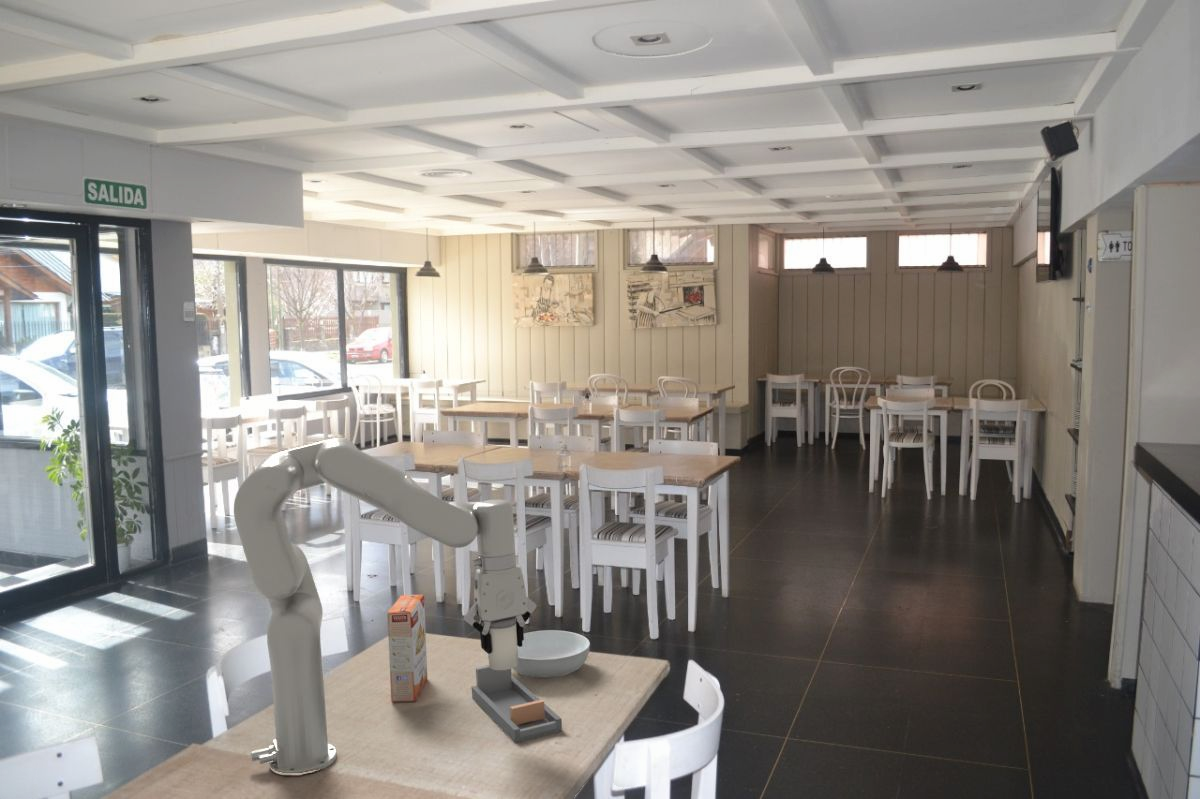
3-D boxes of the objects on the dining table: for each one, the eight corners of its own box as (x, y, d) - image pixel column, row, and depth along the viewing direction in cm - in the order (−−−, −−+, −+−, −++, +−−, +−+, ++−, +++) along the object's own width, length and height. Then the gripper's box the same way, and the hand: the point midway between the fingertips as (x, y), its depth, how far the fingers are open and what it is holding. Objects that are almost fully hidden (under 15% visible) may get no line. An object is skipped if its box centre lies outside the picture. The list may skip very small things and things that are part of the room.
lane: (514, 742, 188) (513, 709, 187) (472, 698, 211) (470, 669, 211) (562, 730, 193) (560, 698, 192) (515, 688, 216) (513, 659, 215)
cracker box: (417, 702, 210) (412, 611, 208) (390, 703, 210) (385, 612, 208) (429, 678, 224) (425, 593, 222) (404, 679, 224) (399, 594, 222)
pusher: (512, 725, 193) (512, 708, 193) (503, 716, 198) (503, 700, 197) (544, 718, 196) (544, 701, 196) (535, 709, 201) (534, 693, 201)
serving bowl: (582, 689, 214) (581, 660, 213) (494, 687, 217) (492, 658, 217) (597, 656, 235) (596, 630, 234) (516, 655, 238) (514, 628, 237)
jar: (495, 672, 187) (491, 624, 186) (484, 663, 192) (481, 616, 191) (523, 666, 189) (520, 618, 189) (512, 656, 195) (509, 611, 194)
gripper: (462, 573, 182) (468, 663, 183) (543, 558, 190) (549, 644, 191) (450, 564, 188) (456, 651, 190) (529, 551, 196) (534, 634, 198)
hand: (502, 647), depth 191 cm, fingers closed on jar, 6 cm apart
